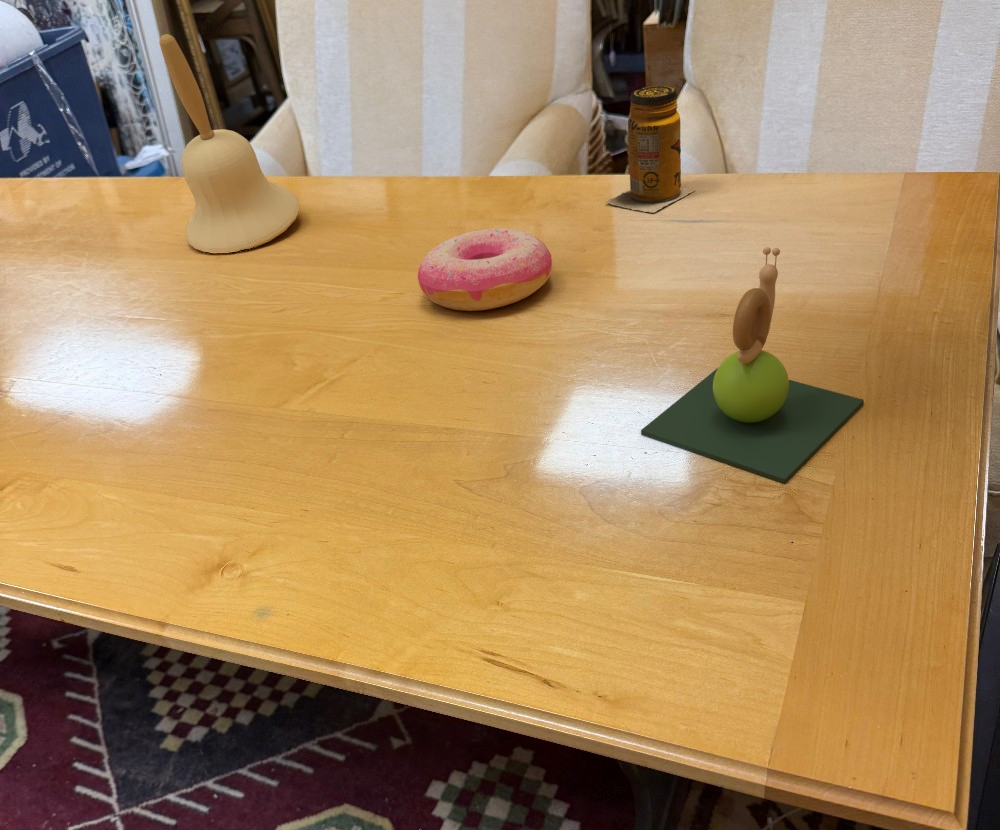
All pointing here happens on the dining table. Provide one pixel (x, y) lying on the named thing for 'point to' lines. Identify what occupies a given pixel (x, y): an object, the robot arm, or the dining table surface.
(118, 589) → the dining table surface
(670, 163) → the condiment
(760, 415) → the snail figurine
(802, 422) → the mat
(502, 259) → the donut
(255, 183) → the handbell
